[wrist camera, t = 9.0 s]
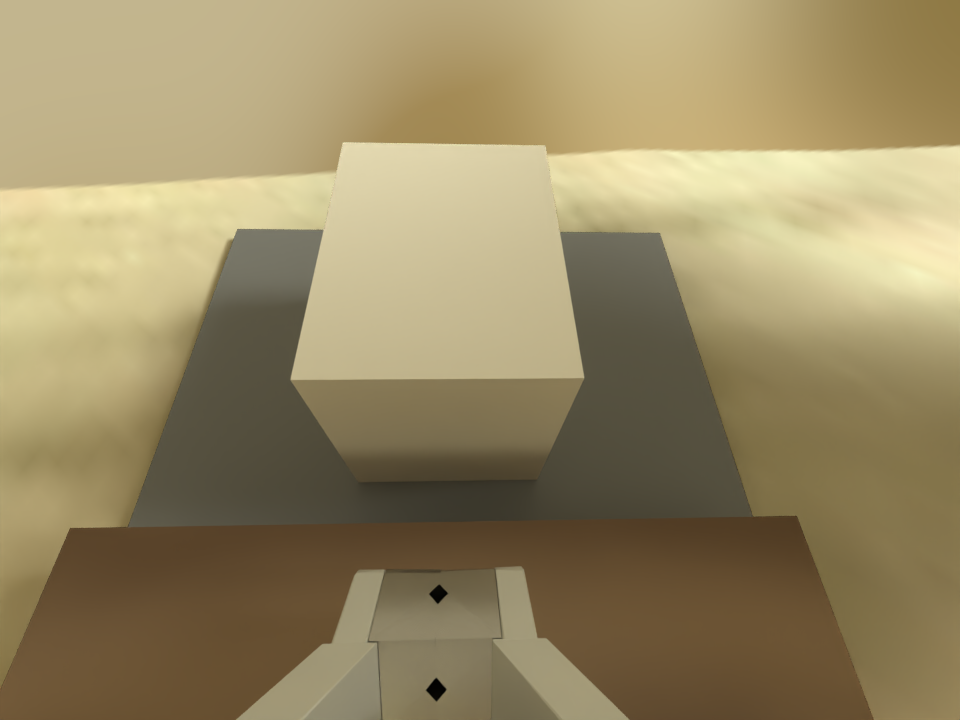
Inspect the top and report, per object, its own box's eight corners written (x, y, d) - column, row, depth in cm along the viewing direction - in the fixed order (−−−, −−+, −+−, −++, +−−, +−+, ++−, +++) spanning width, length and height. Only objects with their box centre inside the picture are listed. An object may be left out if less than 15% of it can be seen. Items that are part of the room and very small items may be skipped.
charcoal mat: (242, 238, 22) (237, 229, 21) (655, 242, 22) (659, 232, 22) (130, 555, 14) (118, 551, 14) (750, 543, 15) (760, 539, 15)
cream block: (358, 482, 15) (379, 295, 19) (536, 479, 15) (520, 296, 20) (290, 379, 9) (343, 142, 13) (584, 377, 9) (545, 145, 14)
